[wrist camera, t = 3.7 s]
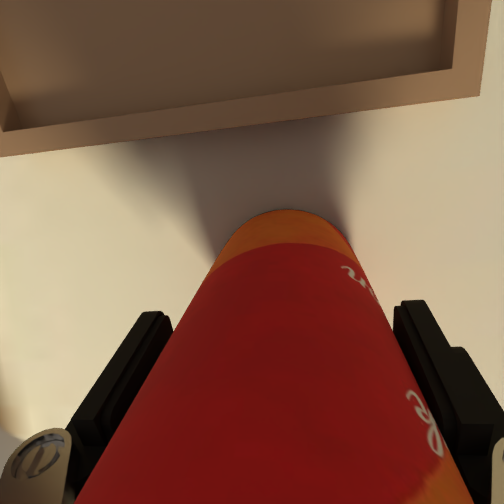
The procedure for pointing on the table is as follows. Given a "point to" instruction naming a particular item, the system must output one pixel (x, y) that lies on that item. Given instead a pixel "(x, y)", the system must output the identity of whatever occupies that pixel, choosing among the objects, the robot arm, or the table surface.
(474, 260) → the table surface
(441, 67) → the tray
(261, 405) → the paper cup
